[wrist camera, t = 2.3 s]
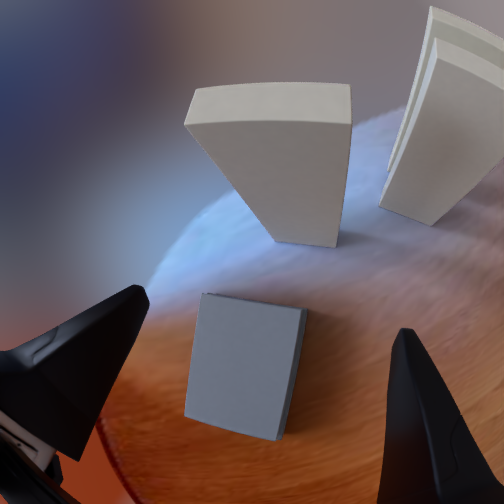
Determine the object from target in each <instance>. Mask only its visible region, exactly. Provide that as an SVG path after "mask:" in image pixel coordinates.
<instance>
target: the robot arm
mask: <svg viewBox="0 0 504 504" xmlns="http://www.w3.org/2000/svg"><path fill="white" fill-rule="evenodd" d="M149 305H150V303H149V299H148V297H147V294H146V292H145V289H144V288H143V287H142V286H139V285H131V286H129V287H127V288H126V289H124V290H122V291H120V292H118V293H116V294H114V295H113V296H111V297H109V298H107V299H105V300H103V301H102V302H100V303H98V304H96V305H95V306H93V307H91V308H89V309H87V310H85V311H84V312H82V313H80V314H78V315H76V316H75V317H73V318H71V319H69V320H68V321H66V322H64V323H62V324H60V325H59V326H57V327H55V328H53V329H52V330H50V331H48V332H46V333H44V334H42V335H40V336H38V337H37V338H34V339H32V340H30V341H28V342H26V343H24V344H22V345H20V346H18V347H16V348H14V349H11V350H8V351H0V494H1V495H2V496H3V498H4V499H5V500H6V501H7V502H8V504H81V503H80V502H78V501H77V500H76V499H75V498H73V497H72V496H71V495H70V494H68V493H67V492H66V491H65V490H63V489H62V488H61V487H60V484H61V483H62V481H63V476H62V471H61V466H60V461H59V456H58V455H57V454H55V453H56V452H57V450H58V451H59V452H61V453H63V454H64V455H66V456H68V457H70V458H72V459H73V460H75V461H77V462H79V460H80V458H81V456H82V454H83V451H84V449H85V446H86V444H87V442H88V439H89V437H90V435H91V432H92V430H93V428H94V426H95V423H96V421H97V419H98V416H99V414H100V412H101V410H102V408H103V405H104V403H105V401H106V399H107V397H108V395H109V393H110V391H111V389H112V386H113V384H114V382H115V380H116V378H117V376H118V374H119V372H120V370H121V368H122V366H123V364H124V362H125V360H126V358H127V356H128V354H129V352H130V350H131V348H132V347H133V345H134V343H135V340H136V338H137V336H138V333H139V331H140V328H141V326H142V324H143V321H144V319H145V316H146V314H147V311H148V309H149ZM460 414H461V413H460V411H459V409H458V407H457V405H456V403H455V401H454V399H453V397H452V395H451V393H450V391H449V390H448V388H447V386H446V384H445V382H444V380H443V379H442V377H441V375H440V373H439V371H438V370H437V368H436V366H435V364H434V363H433V361H432V359H431V358H430V356H429V354H428V352H427V351H426V349H425V347H424V346H423V344H422V343H421V341H420V339H419V338H418V336H417V334H416V333H415V331H414V330H413V329H410V328H401V329H400V330H399V332H398V335H397V337H396V339H395V341H394V343H393V346H392V352H391V364H390V373H389V382H388V390H387V413H386V431H385V444H384V455H383V464H382V472H381V479H380V486H379V492H378V498H377V504H504V486H503V485H502V484H501V483H500V482H499V481H498V480H497V479H496V477H495V476H494V474H493V473H492V471H491V469H490V467H489V465H488V463H487V462H486V460H485V458H484V456H483V455H482V453H481V451H480V449H479V448H478V446H477V444H476V442H475V440H474V439H473V437H472V435H471V433H470V431H469V429H468V427H467V425H466V423H465V421H464V419H463V417H462V415H460Z"/></svg>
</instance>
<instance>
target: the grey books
mask: <svg viewBox="0 0 504 504" xmlns="http://www.w3.org/2000/svg"><path fill="white" fill-rule="evenodd" d="M307 313H308V309H307V308H300V307H293V306H286V305H280V304H273V303H266V302H260V301H254V300H248V299H242V298H236V297H230V296H224V295H218V294H213V293H207V294H204V293H202V294H201V299H200V305H199V311H198V317H197V324H196V330H195V337H194V344H193V351H192V358H191V365H190V373H189V380H188V388H187V396H186V405H185V414H184V416H186V417H189V418H191V419H194V420H197V421H200V422H203V423H207V424H210V425H213V426H216V427H220V428H223V429H226V430H230V431H234V432H237V433H241V434H245V435H249V436H253V437H258V438H262V439H267V440H271V441H276V440H281V439H282V437H283V434H284V430H285V426H286V422H287V417H288V413H289V409H290V404H291V399H292V395H293V390H294V385H295V380H296V375H297V370H298V365H299V360H300V354H301V349H302V343H303V338H304V332H305V326H306V320H307Z"/></svg>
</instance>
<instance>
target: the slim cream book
mask: <svg viewBox="0 0 504 504" xmlns="http://www.w3.org/2000/svg"><path fill="white" fill-rule="evenodd" d="M352 124H353V123H352V95H351V85H349V84H336V83H317V82H316V83H315V82H269V83H248V84H235V85H224V86H215V87H207V88H199V89H196V92H195V94H194V97H193V100H192V102H191V106H190V108H189V111H188V114H187V117H186V120H185V123H184V125H185V127H186V128H187V129H188V130H189V132H190V133H191V134H192V135H193V137H194V138H195V139H196V140H197V142H198V143H199V144H200V145H201V147H202V148H203V149H204V150H205V152H206V153H207V154H208V155H209V157H210V158H211V159H212V161H213V162H214V163H215V164H216V165H217V167H218V168H219V169H220V171H221V172H222V173H223V174H224V176H225V177H226V178H227V180H228V181H229V182H230V183H231V184H232V186H233V187H234V189H235V190H236V191H237V192H238V194H239V195H240V196H241V198H242V199H243V200H244V201H245V203H246V204H247V205H248V207H249V208H250V209H251V211H252V212H253V213H254V214H255V216H256V217H257V218H258V220H259V221H260V222H261V224H262V225H263V226H264V228H265V229H266V230H267V231H268V233H269V234H270V235H271V237H272V238H273V239H274V241H276V242H285V243H294V244H304V245H313V246H322V247H331V248H336V245H337V239H338V233H339V227H340V221H341V215H342V209H343V202H344V195H345V188H346V180H347V172H348V164H349V155H350V146H351V135H352Z"/></svg>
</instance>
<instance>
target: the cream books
mask: <svg viewBox="0 0 504 504" xmlns="http://www.w3.org/2000/svg"><path fill="white" fill-rule="evenodd" d="M503 158H504V39H502V38H500V37H499V36H497V35H495V34H493V33H491V32H490V31H487V30H485V29H484V28H482V27H480V26H478V25H476V24H474V23H472V22H469V21H467V20H465V19H463V18H461V17H458V16H456V15H454V14H451V13H449V12H446V11H444V10H441V9H438V8H435V7H433V6H430V10H429V16H428V22H427V27H426V32H425V38H424V42H423V46H422V51H421V56H420V60H419V64H418V68H417V72H416V76H415V80H414V83H413V87H412V90H411V94H410V97H409V101H408V104H407V108H406V111H405V114H404V117H403V121H402V124H401V127H400V130H399V133H398V136H397V139H396V142H395V145H394V148H393V150H392V153H391V156H390V160H389V165H388V169H387V171H388V172H390V174H389V176H388V179H387V181H386V183H385V186H384V188H383V190H382V194H381V198H380V202H379V207H382V208H384V209H387V210H390V211H393V212H395V213H398V214H401V215H403V216H406V217H408V218H411V219H414V220H416V221H419V222H421V223H424V224H426V225H428V226H432V225H433V224H434V223H435V222H437V221H438V220H439V219H440V218H441V217H442V216H443V215H445V214H446V213H447V212H448V211H449V210H450V209H451V208H452V207H454V206H455V205H456V204H457V203H458V202H459V201H460V200H461V199H462V198H463V197H464V196H465V195H467V194H468V193H469V192H470V191H471V190H472V189H473V188H474V187H475V186H476V185H477V184H478V183H479V182H480V181H481V180H482V179H483V178H484V177H485V176H486V175H487V174H488V173H489V172H490V171H491V170H492V169H493V168H494V167H495V166H496V165H497V164H498V163H499V162H500V161H501V160H502V159H503Z"/></svg>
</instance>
